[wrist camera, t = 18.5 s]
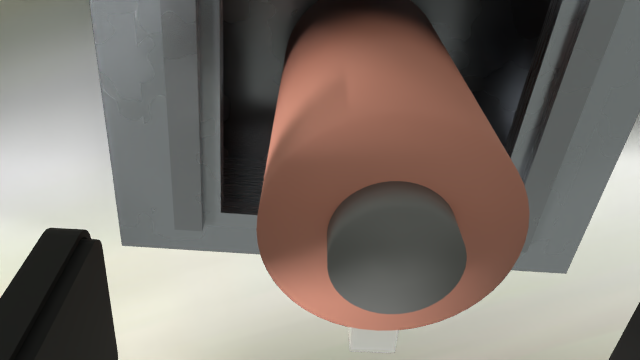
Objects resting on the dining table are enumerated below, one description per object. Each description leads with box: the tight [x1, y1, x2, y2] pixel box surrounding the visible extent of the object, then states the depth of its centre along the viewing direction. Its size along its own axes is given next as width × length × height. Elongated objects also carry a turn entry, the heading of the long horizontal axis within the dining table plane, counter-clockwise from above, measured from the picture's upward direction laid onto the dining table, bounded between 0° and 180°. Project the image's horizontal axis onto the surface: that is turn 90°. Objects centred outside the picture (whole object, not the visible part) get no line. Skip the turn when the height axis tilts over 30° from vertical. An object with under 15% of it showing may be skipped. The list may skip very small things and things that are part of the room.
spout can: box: [256, 0, 529, 353], centre depth 14 cm, size 5×6×10 cm
